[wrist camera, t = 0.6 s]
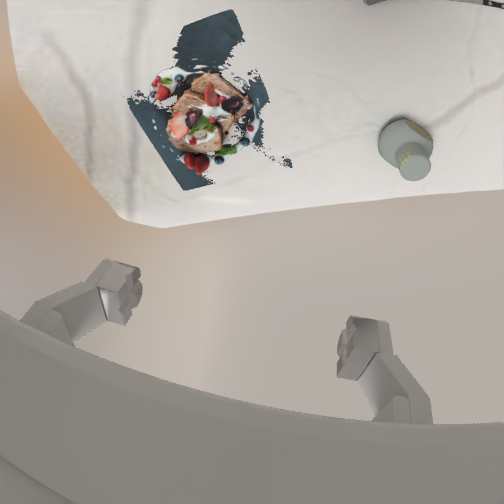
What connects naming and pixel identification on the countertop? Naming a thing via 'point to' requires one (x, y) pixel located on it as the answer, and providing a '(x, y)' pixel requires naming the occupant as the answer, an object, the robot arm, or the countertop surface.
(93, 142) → the countertop surface
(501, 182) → the countertop surface
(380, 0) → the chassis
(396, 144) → the air freshener
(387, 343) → the robot arm
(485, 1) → the chef's knife
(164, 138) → the platter
